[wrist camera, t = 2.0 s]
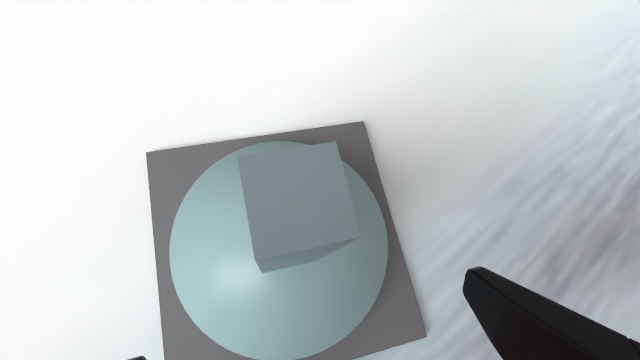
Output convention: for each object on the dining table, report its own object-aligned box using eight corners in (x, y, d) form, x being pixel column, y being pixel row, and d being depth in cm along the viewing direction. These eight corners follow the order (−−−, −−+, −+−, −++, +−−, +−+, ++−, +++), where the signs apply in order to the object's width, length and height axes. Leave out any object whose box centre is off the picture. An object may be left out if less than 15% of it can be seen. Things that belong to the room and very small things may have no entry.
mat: (423, 335, 19) (426, 336, 19) (171, 412, 16) (169, 415, 16) (361, 124, 23) (363, 121, 23) (148, 155, 20) (146, 152, 20)
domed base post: (405, 323, 19) (557, 363, 9) (188, 386, 16) (64, 539, 6) (353, 136, 22) (421, 15, 12) (165, 165, 20) (59, 41, 10)
